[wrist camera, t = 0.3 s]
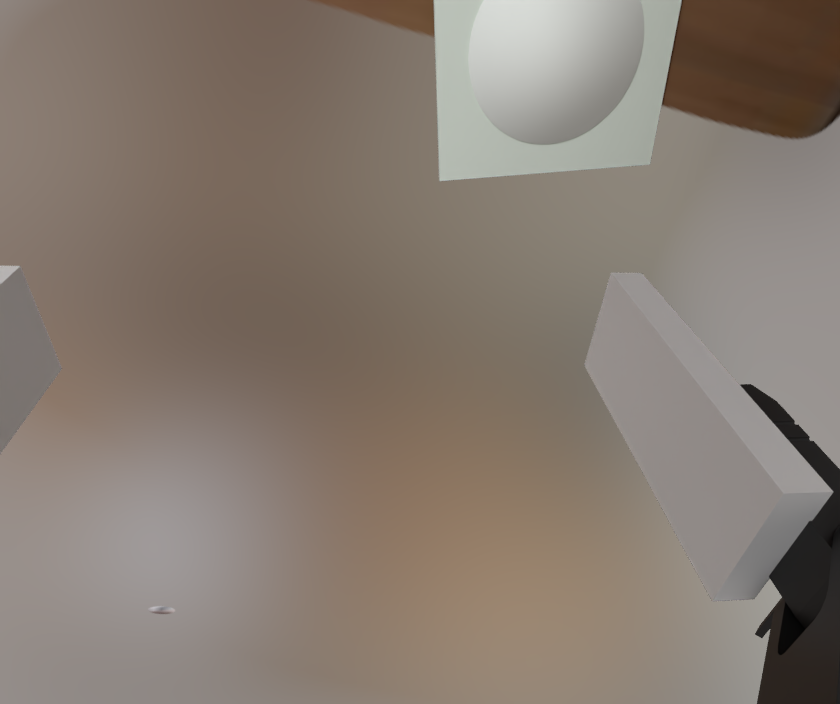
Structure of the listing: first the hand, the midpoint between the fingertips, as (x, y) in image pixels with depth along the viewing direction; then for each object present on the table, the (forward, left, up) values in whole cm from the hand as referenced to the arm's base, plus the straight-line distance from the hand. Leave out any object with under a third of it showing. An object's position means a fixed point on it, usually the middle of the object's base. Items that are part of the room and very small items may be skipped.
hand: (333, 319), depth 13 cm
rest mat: (-1, +13, -27) cm, 30 cm away
